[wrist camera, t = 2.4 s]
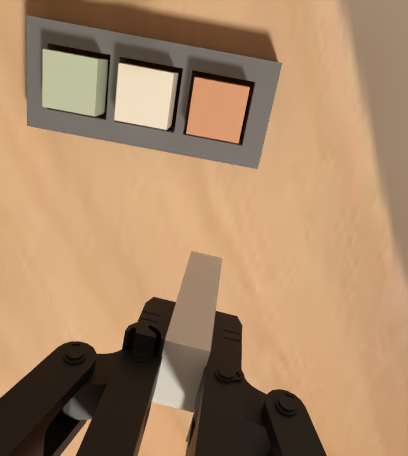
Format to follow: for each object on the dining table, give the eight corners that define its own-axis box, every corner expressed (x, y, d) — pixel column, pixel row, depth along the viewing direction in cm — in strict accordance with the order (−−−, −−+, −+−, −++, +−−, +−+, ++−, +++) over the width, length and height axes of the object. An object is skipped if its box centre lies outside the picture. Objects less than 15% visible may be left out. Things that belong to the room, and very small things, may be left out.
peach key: (189, 128, 31) (186, 133, 29) (197, 76, 30) (194, 77, 27) (238, 138, 31) (238, 143, 29) (248, 86, 29) (250, 87, 27)
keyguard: (40, 122, 33) (27, 125, 31) (41, 19, 30) (26, 15, 28) (255, 162, 33) (257, 168, 31) (278, 63, 30) (282, 62, 28)
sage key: (56, 103, 31) (42, 106, 29) (57, 50, 30) (42, 48, 27) (105, 113, 31) (94, 116, 29) (108, 60, 30) (97, 59, 27)
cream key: (123, 116, 31) (114, 120, 29) (127, 63, 30) (118, 63, 27) (171, 125, 31) (166, 129, 29) (178, 73, 30) (174, 73, 27)
